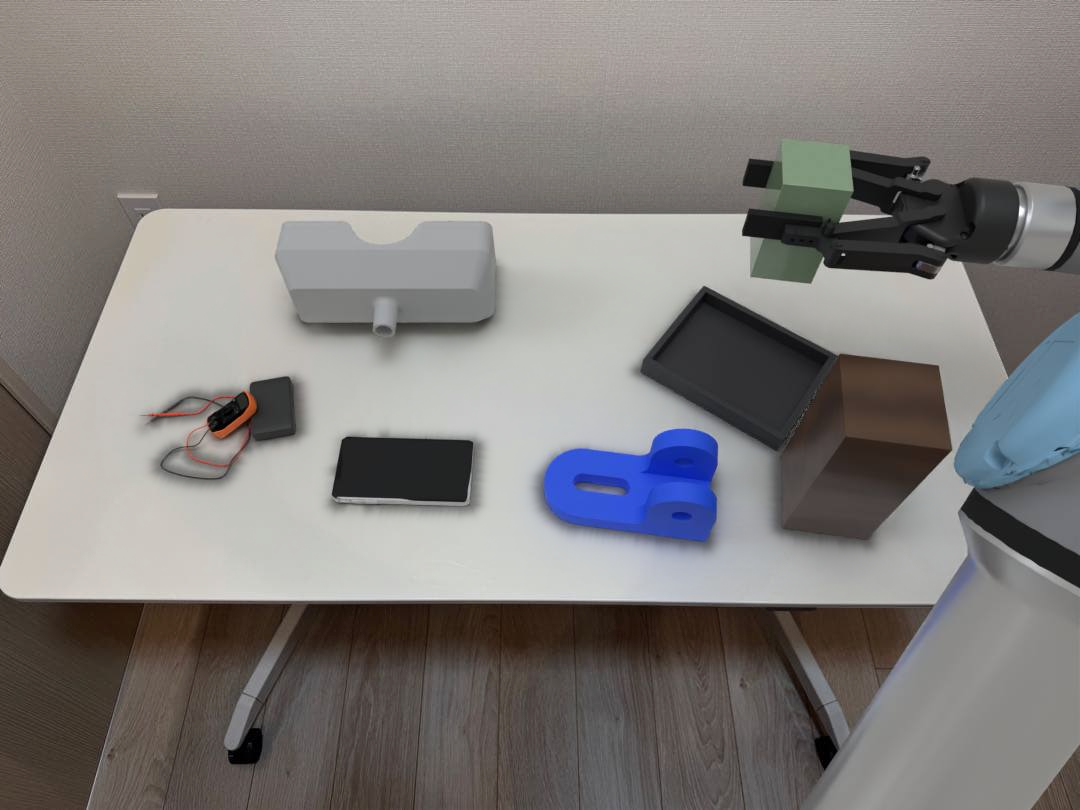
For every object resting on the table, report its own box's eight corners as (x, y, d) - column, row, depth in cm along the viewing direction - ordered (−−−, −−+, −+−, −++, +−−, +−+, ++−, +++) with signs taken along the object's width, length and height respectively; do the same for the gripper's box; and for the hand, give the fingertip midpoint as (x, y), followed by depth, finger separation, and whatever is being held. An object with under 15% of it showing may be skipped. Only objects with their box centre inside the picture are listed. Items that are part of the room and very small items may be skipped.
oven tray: (776, 451, 88) (783, 440, 86) (640, 371, 94) (642, 359, 92) (831, 367, 94) (838, 355, 92) (700, 298, 100) (703, 285, 98)
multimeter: (130, 489, 85) (115, 475, 82) (144, 399, 91) (132, 383, 88) (294, 470, 86) (286, 455, 83) (298, 382, 93) (290, 366, 90)
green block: (811, 284, 76) (853, 191, 66) (749, 277, 76) (783, 183, 66) (808, 240, 79) (849, 144, 69) (750, 233, 79) (781, 138, 69)
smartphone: (468, 503, 83) (330, 499, 83) (469, 508, 84) (332, 504, 84) (473, 438, 87) (342, 435, 87) (474, 444, 88) (344, 440, 88)
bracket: (707, 473, 86) (724, 433, 79) (705, 541, 82) (722, 506, 74) (549, 453, 88) (551, 411, 80) (539, 519, 83) (539, 482, 76)
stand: (866, 540, 82) (952, 450, 65) (782, 528, 83) (845, 436, 66) (860, 466, 87) (939, 364, 70) (780, 456, 88) (839, 353, 71)
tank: (290, 362, 94) (259, 296, 84) (310, 265, 103) (284, 193, 92) (493, 362, 94) (488, 295, 84) (496, 265, 103) (492, 193, 92)
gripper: (997, 330, 68) (735, 300, 70) (966, 184, 78) (737, 160, 80) (1045, 273, 62) (755, 242, 63) (1004, 122, 72) (755, 98, 73)
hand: (746, 196), depth 72 cm, fingers closed on green block, 6 cm apart
